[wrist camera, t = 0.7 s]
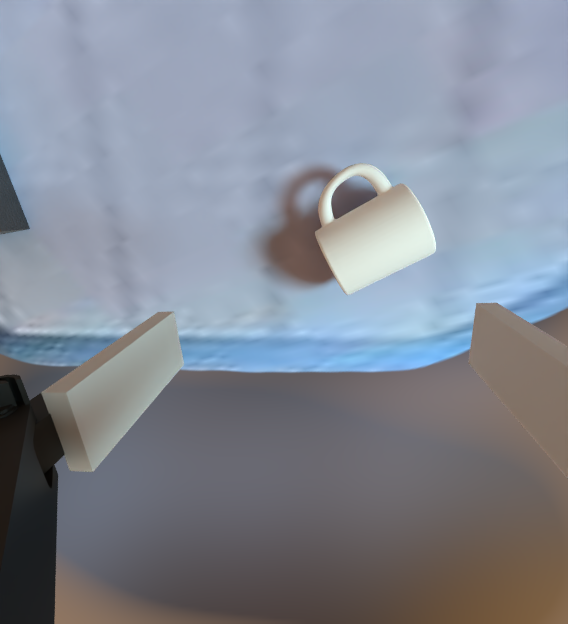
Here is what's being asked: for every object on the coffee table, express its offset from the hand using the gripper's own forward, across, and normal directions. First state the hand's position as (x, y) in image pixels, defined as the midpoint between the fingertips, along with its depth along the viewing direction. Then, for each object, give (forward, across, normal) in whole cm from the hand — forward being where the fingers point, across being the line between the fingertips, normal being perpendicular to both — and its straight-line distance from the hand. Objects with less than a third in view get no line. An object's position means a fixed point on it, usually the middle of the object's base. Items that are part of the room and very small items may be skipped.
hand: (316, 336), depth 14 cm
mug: (+27, +5, +3) cm, 28 cm away
